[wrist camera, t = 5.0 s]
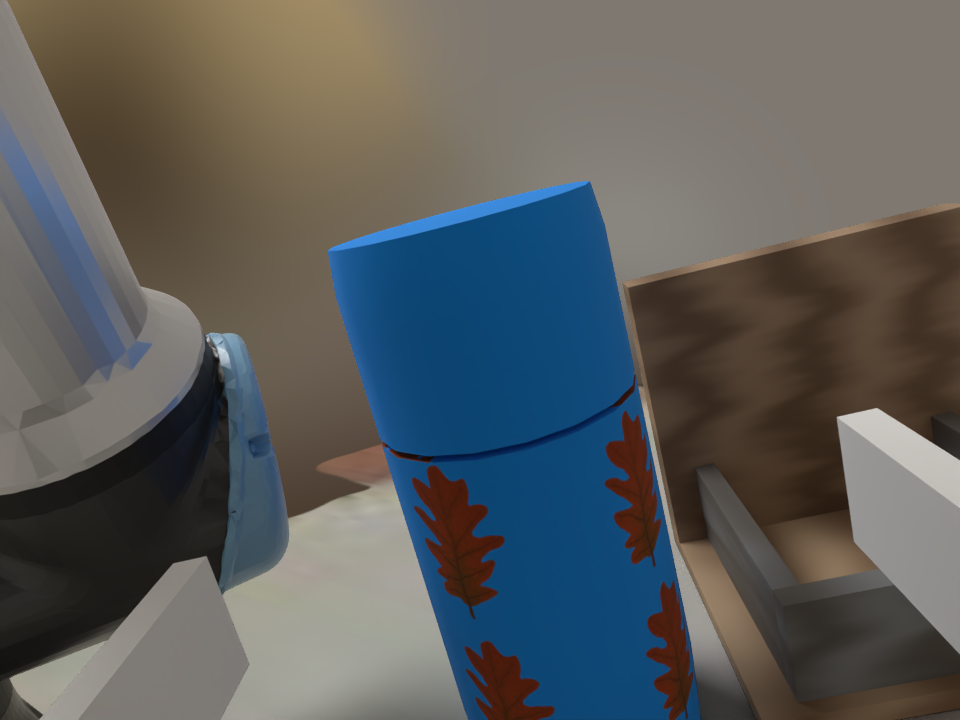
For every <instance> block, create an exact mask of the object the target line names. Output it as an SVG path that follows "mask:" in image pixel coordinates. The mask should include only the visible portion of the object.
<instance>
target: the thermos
mask: <svg viewBox="0 0 960 720" xmlns="http://www.w3.org/2000/svg"><path fill="white" fill-rule="evenodd" d="M328 256H329V261H330V266H331V272H332V278H333V283H334V289H335V295H336V299H337V302H338V305H339V308H340V312H341V315H342V318H343V321H344V324H345V327H346V331H347V334H348V337H349V341H350V344H351V347H352V350H353V353H354V357H355V360H356V363H357V366H358V369H359V373H360V376H361V379H362V382H363V385H364V389H365V392H366V395H367V398H368V401H369V405H370V408H371V411H372V414H373V417H374V421H375V424H376V427H377V430H378V433H379V437H380V439H381V440H382V441H383V444H382V446H383V449H384V453H385V456H386V459H387V462H388V466H389V469H390V472H391V475H392V478H393V482H394V485H395V488H396V491H397V494H398V498H399V501H400V504H401V507H402V510H403V514H404V517H405V520H406V523H407V526H408V530H409V533H410V536H411V539H412V542H413V546H414V549H415V552H416V555H417V558H418V562H419V565H420V568H421V571H422V574H423V578H424V581H425V584H426V587H427V590H428V594H429V597H430V600H431V603H432V607H433V610H434V613H435V616H436V619H437V623H438V626H439V629H440V632H441V635H442V639H443V642H444V645H445V648H446V651H447V655H448V658H449V661H450V664H451V667H452V671H453V674H454V677H455V680H456V683H457V687H458V690H459V693H460V696H461V699H462V703H463V706H464V709H465V712H466V714H467V717H468V720H701V714H700V706H699V699H698V691H697V684H696V677H695V669H694V662H693V655H692V648H691V641H690V636H689V632H688V627H687V622H686V617H685V612H684V607H683V602H682V598H681V593H680V588H679V583H678V578H677V573H676V568H675V564H674V559H673V554H672V549H671V544H670V539H669V534H668V530H667V525H666V520H665V515H664V510H663V505H662V500H661V496H660V491H659V486H658V481H657V476H656V471H655V466H654V462H653V457H652V452H651V447H650V442H649V437H648V433H647V428H646V423H645V418H644V413H643V408H642V403H641V399H640V394H639V389H638V384H637V379H636V375H635V374H634V365H633V360H632V355H631V350H630V345H629V341H628V336H627V331H626V326H625V321H624V316H623V312H622V306H621V301H620V297H619V292H618V287H617V282H616V277H615V272H614V268H613V263H612V258H611V253H610V248H609V243H608V238H607V233H606V229H605V224H604V222H603V219H602V215H601V212H600V209H599V207H598V204H597V201H596V198H595V195H594V192H593V189H592V186H591V183H590V181H585V182H575V183H570V184H564V185H559V186H554V187H549V188H545V189H540V190H536V191H531V192H527V193H522V194H519V195H514V196H510V197H506V198H502V199H497V200H494V201H490V202H485V203H482V204H478V205H474V206H470V207H466V208H462V209H458V210H455V211H450V212H447V213H443V214H439V215H436V216H432V217H429V218H425V219H421V220H418V221H414V222H410V223H407V224H404V225H400V226H397V227H393V228H390V229H387V230H383V231H380V232H376V233H373V234H370V235H367V236H364V237H361V238H358V239H355V240H351V241H348V242H346V243H343V244H340V245H338V246H335V247H333V248H331V249H330V250H328Z"/></svg>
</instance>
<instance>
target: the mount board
mask: <svg viewBox="0 0 960 720" xmlns="http://www.w3.org/2000/svg"><path fill="white" fill-rule="evenodd" d="M622 283H623V288H624V293H625V298H626V303H627V308H628V312H629V317H630V322H631V327H632V332H633V337H634V342H635V347H636V352H637V357H638V362H639V366H640V371H641V376H642V381H643V386H644V391H645V396H646V401H647V406H648V411H649V416H650V421H651V425H652V430H653V435H654V440H655V445H656V450H657V455H658V460H659V465H660V470H661V475H662V479H663V484H664V489H665V494H666V499H667V504H668V509H669V514H670V519H671V524H672V529H673V533H674V538H675V542H676V544H677V546H678V549H679V551H680V553H681V555H682V557H683V560H684V562H685V564H686V566H687V568H688V570H689V573H690V575H691V577H692V579H693V581H694V584H695V586H696V588H697V590H698V592H699V595H700V597H701V599H702V601H703V603H704V606H705V608H706V610H707V612H708V614H709V616H710V619H711V621H712V623H713V625H714V627H715V630H716V632H717V634H718V636H719V638H720V641H721V643H722V645H723V647H724V649H725V652H726V654H727V656H728V658H729V660H730V662H731V665H732V667H733V669H734V671H735V673H736V676H737V678H738V680H739V682H740V684H741V687H742V689H743V691H744V693H745V695H746V698H747V700H748V702H749V704H750V706H751V708H752V711H753V713H754V715H755V717H756V719H757V720H898V719H904V718H909V717H915V716H921V715H927V714H932V713H938V712H944V711H949V710H955V709H960V654H959V653H958V652H957V651H956V650H955V649H954V648H953V646H952V645H951V644H950V643H949V642H948V641H947V640H946V639H945V638H944V637H943V636H942V635H941V634H940V633H939V632H938V631H937V629H936V628H935V627H934V626H933V625H932V624H931V623H930V622H929V621H928V620H927V619H926V618H925V617H924V616H923V615H922V614H921V612H920V611H919V610H918V609H917V608H916V607H915V606H914V605H913V604H912V603H911V602H910V601H909V600H908V599H907V598H906V597H905V595H904V594H903V593H902V592H901V591H900V590H899V589H898V588H897V587H896V586H895V585H894V584H893V583H892V582H891V581H890V580H889V578H888V577H887V576H886V575H885V574H884V573H883V572H882V571H881V570H880V569H879V568H878V567H877V566H876V565H875V564H874V563H873V561H872V560H871V559H870V558H869V557H868V556H867V555H866V554H865V553H864V552H863V551H862V550H861V549H860V548H859V547H858V545H857V544H856V543H855V542H854V538H853V531H852V523H851V516H850V509H849V502H848V495H847V488H846V481H845V473H844V466H843V459H842V452H841V445H840V438H839V430H838V423H837V417H839V416H843V415H848V414H853V413H857V412H862V411H866V410H871V409H875V408H878V409H880V410H881V411H883V412H884V413H886V414H887V415H889V416H891V417H892V418H894V419H895V420H897V421H898V422H900V423H902V424H903V425H905V426H906V427H908V428H909V429H911V430H913V431H914V432H916V433H917V434H919V435H921V436H922V437H924V438H925V439H927V440H928V441H930V442H932V443H933V444H935V445H936V446H938V447H939V448H941V449H943V450H944V451H946V452H947V453H949V454H950V455H952V456H954V457H955V458H957V459H958V460H960V204H951V203H945V204H941V205H937V206H932V207H928V208H925V209H920V210H916V211H912V212H908V213H904V214H900V215H896V216H892V217H887V218H883V219H879V220H875V221H871V222H867V223H863V224H859V225H854V226H850V227H847V228H842V229H838V230H834V231H830V232H826V233H822V234H818V235H813V236H810V237H805V238H801V239H797V240H793V241H789V242H785V243H781V244H777V245H773V246H768V247H765V248H760V249H756V250H752V251H748V252H744V253H740V254H736V255H731V256H727V257H723V258H719V259H715V260H711V261H707V262H703V263H699V264H694V265H690V266H686V267H682V268H678V269H674V270H670V271H666V272H662V273H657V274H653V275H649V276H645V277H641V278H637V279H633V280H629V281H625V282H622Z"/></svg>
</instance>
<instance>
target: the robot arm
mask: <svg viewBox="0 0 960 720" xmlns="http://www.w3.org/2000/svg"><path fill="white" fill-rule="evenodd" d="M837 423H838V430H839V438H840V445H841V452H842V459H843V466H844V473H845V481H846V488H847V495H848V502H849V509H850V516H851V523H852V531H853V538H854V542H855V543H856V544H857V545H858V547H859V548H860V549H861V550H862V551H863V552H864V553H865V554H866V555H867V556H868V557H869V558H870V559H871V560H872V561H873V563H874V564H875V565H876V566H877V567H878V568H879V569H880V570H881V571H882V572H883V573H884V574H885V575H886V576H887V577H888V578H889V580H890V581H891V582H892V583H893V584H894V585H895V586H896V587H897V588H898V589H899V590H900V591H901V592H902V593H903V594H904V595H905V597H906V598H907V599H908V600H909V601H910V602H911V603H912V604H913V605H914V606H915V607H916V608H917V609H918V610H919V611H920V612H921V614H922V615H923V616H924V617H925V618H926V619H927V620H928V621H929V622H930V623H931V624H932V625H933V626H934V627H935V628H936V629H937V631H938V632H939V633H940V634H941V635H942V636H943V637H944V638H945V639H946V640H947V641H948V642H949V643H950V644H951V645H952V646H953V648H954V649H955V650H956V651H957V652H958V653H959V654H960V460H958V459H957V458H955V457H954V456H952V455H950V454H949V453H947V452H946V451H944V450H943V449H941V448H939V447H938V446H936V445H935V444H933V443H932V442H930V441H928V440H927V439H925V438H924V437H922V436H921V435H919V434H917V433H916V432H914V431H913V430H911V429H909V428H908V427H906V426H905V425H903V424H902V423H900V422H898V421H897V420H895V419H894V418H892V417H891V416H889V415H887V414H886V413H884V412H883V411H881V410H880V409H878V408H875V409H871V410H866V411H862V412H857V413H853V414H848V415H843V416H839V417H837ZM270 439H271V436H270V432H269V428H268V424H267V417H266V412H265V408H264V404H263V400H262V397H261V393H260V389H259V385H258V382H257V379H256V375H255V371H254V368H253V365H252V362H251V359H250V356H249V353H248V350H247V347H246V345H245V343H244V341H243V340H242V338H241V337H240V336H238V335H236V334H231V333H226V334H219V333H210V334H208V335H206V336H205V335H204V332H203V330H202V328H201V325H200V323H199V321H198V320H197V318H196V317H195V316H194V314H193V313H192V311H191V310H190V309H189V308H188V307H187V306H186V305H185V304H184V303H182V302H181V301H179V300H178V299H176V298H174V297H172V296H170V295H167V294H165V293H162V292H159V291H155V290H152V289H148V288H144V287H140V285H139V283H138V281H137V279H136V277H135V274H134V272H133V270H132V268H131V266H130V264H129V262H128V259H127V257H126V255H125V253H124V251H123V249H122V246H121V244H120V242H119V240H118V238H117V236H116V234H115V232H114V229H113V227H112V225H111V223H110V221H109V219H108V217H107V214H106V212H105V210H104V208H103V206H102V204H101V201H100V199H99V197H98V195H97V193H96V191H95V188H94V186H93V184H92V182H91V180H90V178H89V176H88V173H87V171H86V169H85V167H84V165H83V163H82V160H81V158H80V156H79V154H78V152H77V150H76V148H75V145H74V143H73V141H72V139H71V137H70V135H69V133H68V130H67V128H66V126H65V124H64V122H63V120H62V118H61V115H60V113H59V111H58V109H57V107H56V105H55V102H54V100H53V98H52V96H51V94H50V92H49V90H48V87H47V85H46V83H45V81H44V79H43V77H42V75H41V72H40V70H39V68H38V66H37V64H36V62H35V60H34V57H33V55H32V53H31V51H30V49H29V47H28V44H27V42H26V40H25V38H24V36H23V34H22V32H21V29H20V27H19V25H18V23H17V21H16V19H15V17H14V14H13V12H12V10H11V8H10V6H9V4H8V2H7V0H0V720H220V719H221V718H222V716H223V714H224V712H225V710H226V708H227V706H228V704H229V702H230V700H231V699H232V697H233V695H234V693H235V691H236V689H237V687H238V685H239V683H240V681H241V680H242V678H243V676H244V674H245V672H246V670H247V668H248V666H249V662H248V659H247V657H246V654H245V652H244V649H243V647H242V644H241V642H240V639H239V637H238V634H237V632H236V629H235V627H234V624H233V622H232V619H231V617H230V614H229V611H228V609H227V606H226V604H225V601H224V599H223V596H222V595H223V594H224V592H225V591H227V590H229V589H231V588H233V587H235V586H237V585H240V584H242V583H244V582H246V581H248V580H250V579H252V578H255V577H257V576H259V575H261V574H263V573H265V572H267V571H269V570H270V569H272V568H273V567H274V566H276V565H277V564H278V562H279V561H280V560H281V558H282V557H283V555H284V553H285V551H286V549H287V546H288V541H289V525H288V517H287V510H286V504H285V498H284V493H283V488H282V483H281V478H280V473H279V469H278V464H277V460H276V456H275V452H274V449H273V446H272V445H271V443H270ZM105 640H107V641H106V642H105V644H104V645H103V646H102V647H101V648H100V649H99V651H98V652H97V653H96V654H95V655H94V656H93V658H92V659H91V660H90V661H89V662H88V663H87V665H86V666H85V667H84V668H83V669H82V670H81V672H80V673H79V674H78V675H77V676H76V677H75V679H74V680H73V681H72V682H71V683H70V684H69V686H68V687H67V688H66V689H65V690H64V691H63V693H62V694H61V695H60V696H59V697H58V698H57V700H56V701H55V702H54V703H53V704H52V705H51V707H50V708H49V709H48V710H47V711H46V712H45V714H44V715H43V714H42V713H40V712H39V711H38V710H37V709H35V708H34V707H33V706H31V705H30V704H29V703H28V702H26V701H25V700H24V699H23V698H21V697H20V696H19V695H18V693H17V692H16V690H15V688H14V687H13V685H12V683H11V681H10V679H9V678H11V677H13V676H15V675H17V674H20V673H23V672H25V671H28V670H30V669H33V668H35V667H38V666H41V665H43V664H46V663H48V662H51V661H54V660H56V659H59V658H61V657H64V656H67V655H69V654H72V653H74V652H77V651H80V650H82V649H85V648H87V647H90V646H93V645H95V644H98V643H100V642H103V641H105Z"/></svg>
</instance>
